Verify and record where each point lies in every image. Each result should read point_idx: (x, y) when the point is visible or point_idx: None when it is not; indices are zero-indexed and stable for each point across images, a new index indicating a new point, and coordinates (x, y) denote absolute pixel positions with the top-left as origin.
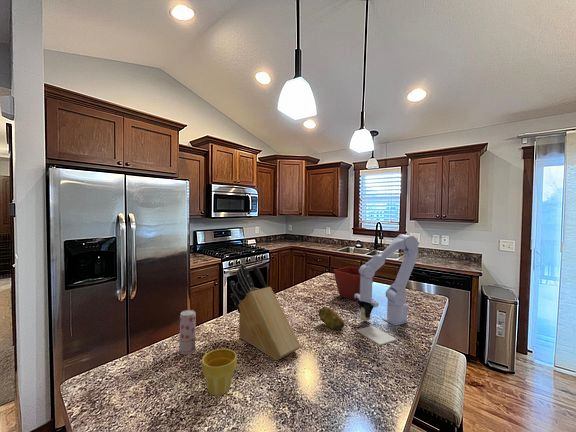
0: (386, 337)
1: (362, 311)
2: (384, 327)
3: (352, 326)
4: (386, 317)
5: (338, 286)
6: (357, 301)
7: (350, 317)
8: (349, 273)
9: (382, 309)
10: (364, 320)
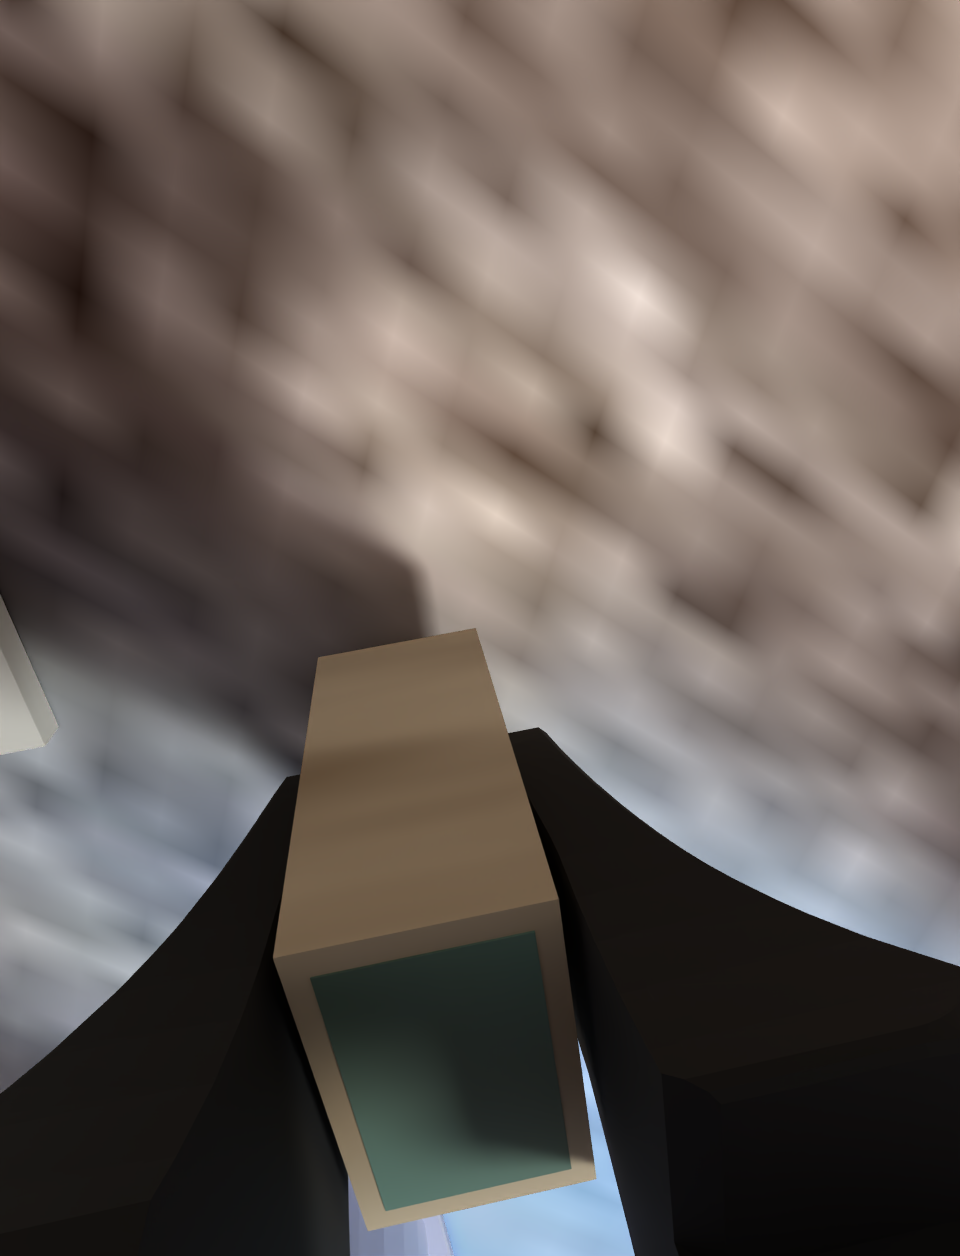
0: None
1: (413, 810)
2: (8, 965)
3: (161, 96)
4: None
5: None
6: (951, 1059)
7: (787, 452)
8: None
9: None
10: (320, 677)
